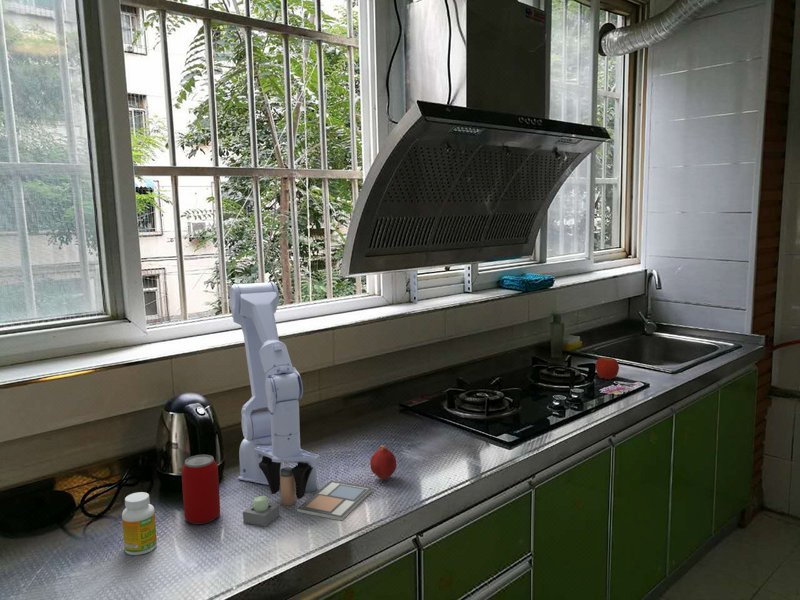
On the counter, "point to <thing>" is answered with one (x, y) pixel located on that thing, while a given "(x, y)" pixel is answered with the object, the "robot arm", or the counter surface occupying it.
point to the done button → (261, 504)
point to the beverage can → (200, 489)
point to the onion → (383, 463)
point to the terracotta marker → (287, 486)
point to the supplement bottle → (139, 524)
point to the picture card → (335, 500)
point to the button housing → (261, 515)
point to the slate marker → (312, 481)
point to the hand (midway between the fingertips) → (288, 494)
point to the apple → (607, 367)
